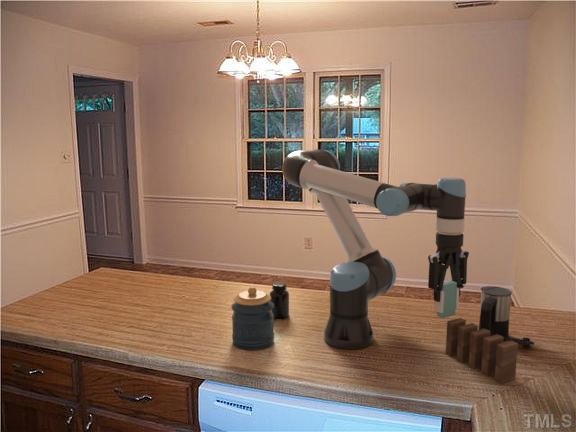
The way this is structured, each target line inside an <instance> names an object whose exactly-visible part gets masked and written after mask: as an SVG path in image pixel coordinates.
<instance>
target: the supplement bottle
mask: <svg viewBox="0 0 576 432" xmlns="http://www.w3.org/2000/svg"><path fill="white" fill-rule="evenodd" d="M271 289H272V290H271V291H270V292H269V295H270V296H271V300H270V301H271V302H273V304H274V307H273V309H272V312H273V314H274V318H273V319H274V320H276V319H282V320H286V319H288V318H289V316H290V293H289V291H288V290H287V283H286V282H284V281H276V282H273V283H272V287H271ZM287 317H288V318H287ZM285 318H286V319H285Z"/></svg>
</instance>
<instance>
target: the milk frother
mask: <svg viewBox="0 0 576 432" xmlns="http://www.w3.org/2000/svg"><path fill="white" fill-rule="evenodd" d="M480 291H481V294H480V308H479V321H478V322H479V324H478V330H481V329H487V330H489V331H490V336H493V335H497V334H498V335H500V336H503V337H504V341H506V342H507V341H511V340H512V341H514V342H516V343H518V344H522V346H523V347H526V348H527V347H530V345H531V346H534V345H535V342H534V341H531V339H530V337H524V336H523V337H522V338H514V337H513V338H511V337H510V334H509V330H510V329H509V328H510V315H511V314H510V313H511V302H512V301H511V299H512V294H513V291H512V290H510V289H509V288H505V287H500V286H496V285H495V286H493V285H487V286H483V287H481V288H480Z"/></svg>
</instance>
